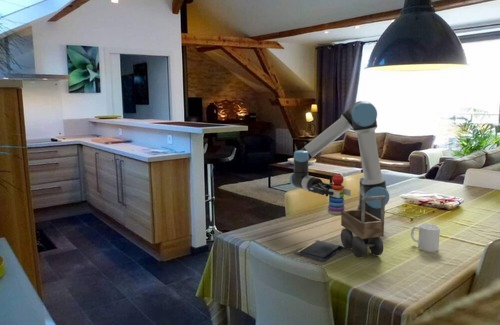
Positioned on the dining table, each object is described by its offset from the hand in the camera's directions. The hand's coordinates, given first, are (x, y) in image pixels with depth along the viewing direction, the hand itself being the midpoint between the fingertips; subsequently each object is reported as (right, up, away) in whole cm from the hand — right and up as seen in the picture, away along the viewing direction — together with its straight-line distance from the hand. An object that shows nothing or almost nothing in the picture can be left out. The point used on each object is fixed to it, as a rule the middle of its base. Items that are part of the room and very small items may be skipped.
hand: (344, 194), depth 178 cm
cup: (+35, -24, -2) cm, 42 cm away
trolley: (+6, -25, -6) cm, 26 cm away
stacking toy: (-2, -10, +6) cm, 12 cm away
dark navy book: (-12, -25, -4) cm, 28 cm away
